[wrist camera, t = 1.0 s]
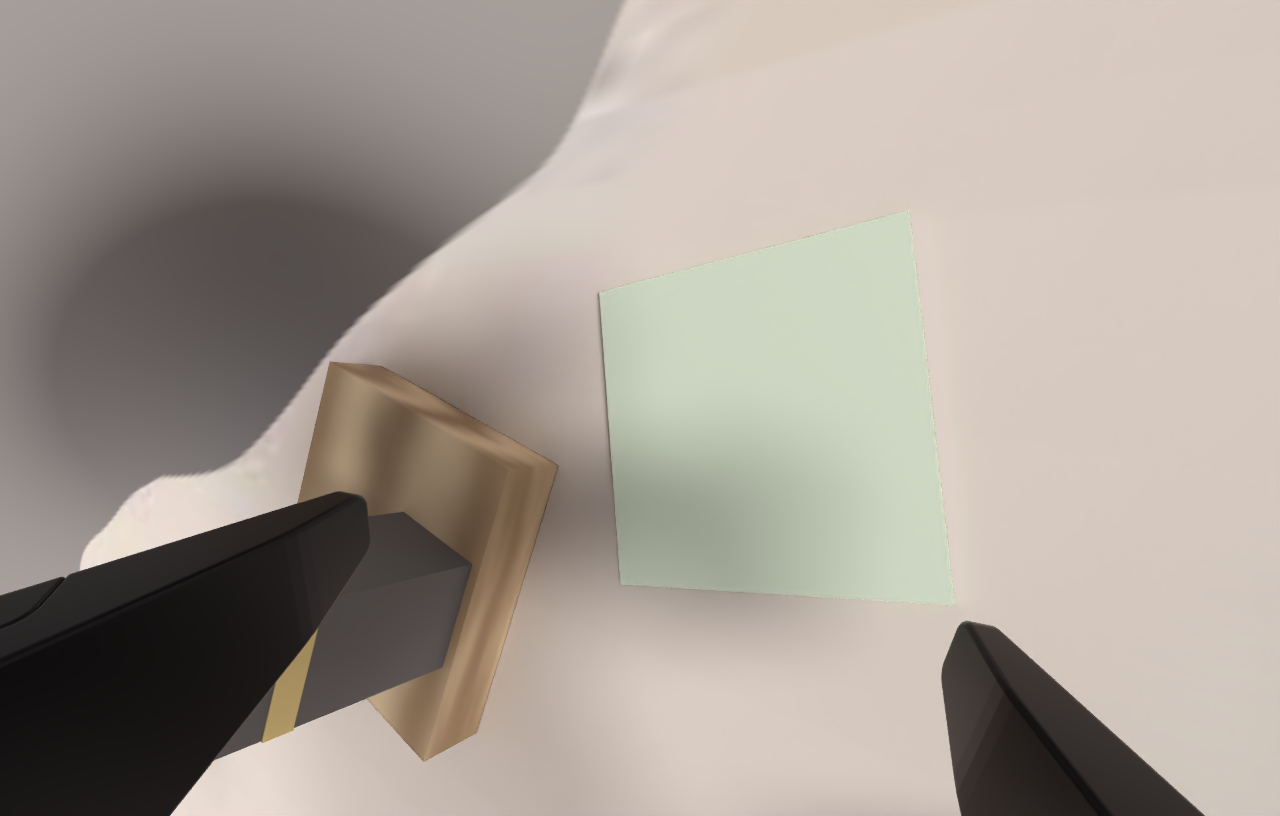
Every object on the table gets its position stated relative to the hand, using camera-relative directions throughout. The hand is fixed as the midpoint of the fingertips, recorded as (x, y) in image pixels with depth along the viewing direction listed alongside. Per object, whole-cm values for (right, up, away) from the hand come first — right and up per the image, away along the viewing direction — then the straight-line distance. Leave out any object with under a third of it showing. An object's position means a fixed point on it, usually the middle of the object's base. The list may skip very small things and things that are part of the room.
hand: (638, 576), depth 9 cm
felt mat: (+4, +2, +13) cm, 14 cm away
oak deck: (-11, -4, +23) cm, 26 cm away
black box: (-10, -5, +18) cm, 21 cm away
